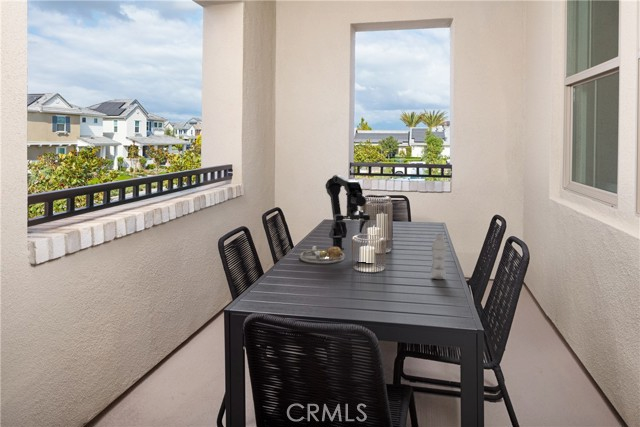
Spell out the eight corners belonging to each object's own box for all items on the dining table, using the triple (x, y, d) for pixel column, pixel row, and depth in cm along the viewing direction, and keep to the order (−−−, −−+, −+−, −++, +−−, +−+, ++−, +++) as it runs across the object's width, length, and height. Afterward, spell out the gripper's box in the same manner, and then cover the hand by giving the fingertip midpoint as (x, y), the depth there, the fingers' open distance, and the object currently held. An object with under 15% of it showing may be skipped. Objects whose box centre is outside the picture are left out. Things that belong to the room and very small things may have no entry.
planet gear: (327, 254, 257) (327, 246, 256) (339, 253, 258) (339, 246, 257) (329, 257, 250) (329, 249, 250) (342, 256, 251) (342, 248, 251)
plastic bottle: (433, 276, 219) (434, 232, 216) (447, 278, 215) (449, 234, 212) (427, 279, 214) (429, 235, 211) (442, 281, 210) (444, 236, 207)
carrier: (297, 254, 262) (297, 244, 261) (339, 252, 266) (339, 243, 265) (303, 264, 240) (303, 254, 239) (348, 262, 244) (348, 252, 243)
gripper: (338, 206, 247) (337, 236, 250) (373, 205, 251) (372, 235, 253) (333, 204, 258) (333, 232, 260) (367, 203, 261) (367, 231, 264)
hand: (351, 233), depth 259 cm, fingers open, 9 cm apart
